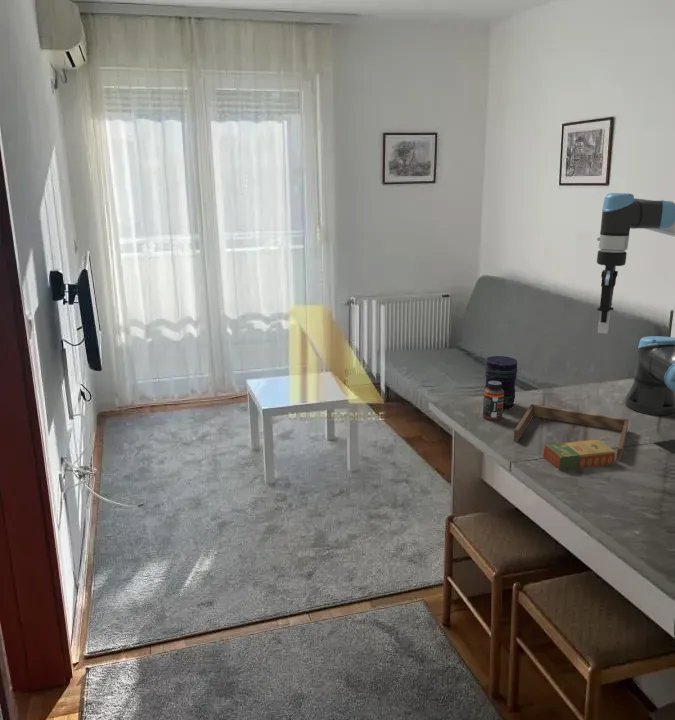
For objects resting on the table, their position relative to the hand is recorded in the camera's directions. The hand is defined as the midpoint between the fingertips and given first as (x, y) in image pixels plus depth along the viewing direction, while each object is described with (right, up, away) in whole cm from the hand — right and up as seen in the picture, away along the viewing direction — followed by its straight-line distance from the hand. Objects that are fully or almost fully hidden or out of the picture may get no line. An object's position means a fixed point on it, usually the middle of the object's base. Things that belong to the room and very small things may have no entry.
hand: (602, 332), depth 194 cm
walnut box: (-9, -30, 0) cm, 31 cm away
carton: (-13, -35, -16) cm, 40 cm away
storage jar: (-24, -23, +24) cm, 41 cm away
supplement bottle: (-29, -26, +13) cm, 41 cm away
